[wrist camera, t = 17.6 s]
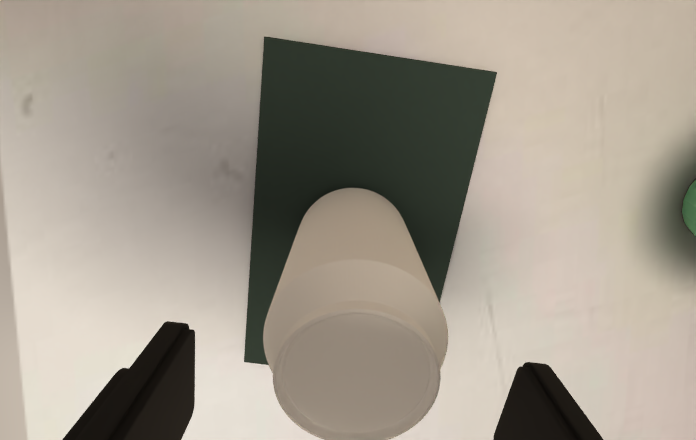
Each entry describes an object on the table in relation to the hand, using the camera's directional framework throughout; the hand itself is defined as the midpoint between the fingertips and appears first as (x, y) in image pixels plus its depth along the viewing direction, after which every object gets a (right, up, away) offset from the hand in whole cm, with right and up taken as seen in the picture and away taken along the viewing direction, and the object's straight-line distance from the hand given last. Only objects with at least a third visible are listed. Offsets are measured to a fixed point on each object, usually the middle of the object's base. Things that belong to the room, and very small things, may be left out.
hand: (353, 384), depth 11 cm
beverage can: (0, +4, +12) cm, 12 cm away
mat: (0, +4, +12) cm, 12 cm away
